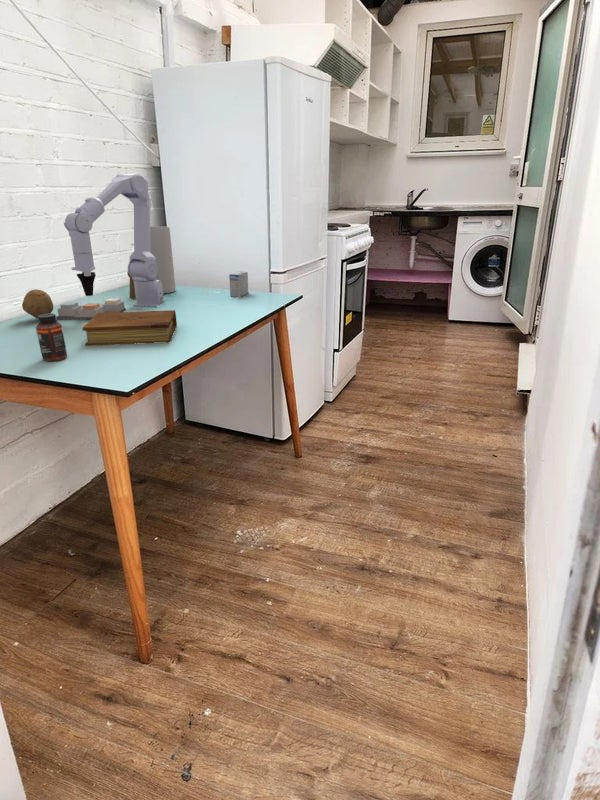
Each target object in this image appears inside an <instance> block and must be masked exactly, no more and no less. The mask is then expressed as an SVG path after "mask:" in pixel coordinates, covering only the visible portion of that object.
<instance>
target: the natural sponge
mask: <svg viewBox="0 0 600 800" xmlns="http://www.w3.org/2000/svg"><path fill="white" fill-rule="evenodd" d="M21 307H22V309H23V311H24V312H25V313H27V314H29V315H31V317H34V318H35V319H37V320H38V316H39V315H42V314H48V313H52V312H53V310H54V303H53V300H52V298H51V296H50V295H49V294H48V293H47V292H46V291H44V290H41V289H37V288H35V289H30V290H29V291H28V292H27V293H26V294H25V296H24V297H23V301H22V303H21Z"/></svg>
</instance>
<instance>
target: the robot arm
mask: <svg viewBox="0 0 600 800" xmlns="http://www.w3.org/2000/svg"><path fill="white" fill-rule="evenodd" d="M119 195H122V196H123V197H125V198H126V199H128V200H129V201H130V202H131V203H132V204H133V252H132V253H131V254H130V255H129V262H128V264H127V272H128V273H129V275H130V276H131V277H132V279H133V280H134V287H135V295H136V299H135V301H136V302H134V303H133V304H132V306H133V307H159V306H160V305H162V304H164V303H165V299H164V297H165V296H164V294H163V288H162V283H161V281H160V280H155V279H156V276H157V274H158V267H157V264H156V258H155V257H154V256H153V255H152V254H151V253H150V227H151V198H150V194H149V182H148V180H147V179H146V178H145V177H144V175H142V174H141V173H125V174H124V173H118V174H117V175H115V177H113V178H111V181H110V182H109V184H108V185H106V187H105V188H104V189H103V190H102V191H101V192H100V193H99V194H98V195H97V196H96V197H93V196H92V197H87V198H85V199H84V201H85V202H84V203H83V204H82V205H80V206H79V207H76V208H75V211H74V212H70V213H68V214H67V215H66V217H65V218H64V222H63V226H64V227H65V229H66V230H67V232H68V235H69V237H70V244H71V248H72V255H73V262H74V267H73V266H72V267H71V271H76V272H81V273H76V276H77V277H78V280H79V282H80V284H81V286H82V289H83V292H84V295H85V297H93V296H94V285H95V284H94V283H95V278H96V276H97V275H96V272H94V271H95V270H96V266H95V263H94V255H93V249H92V242H91V234H90V231H91V230H92V229H93V223H95V222H96V220H98V218H100V217H101V216H102V215H103V214H104V213H105V211H106V210H105V207H106V206H107V205H108V204H110V203H111V202H112V201H113V200H114V199H116V198H117V197H119ZM141 260H144V261H141Z"/></svg>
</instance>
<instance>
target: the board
mask: <svg viewBox="0 0 600 800" xmlns="http://www.w3.org/2000/svg"><path fill="white" fill-rule="evenodd" d="M82 306H83V305H80V304H78V307H75V308H73V309H61V306H60V307H58V308H57V316H56V320H87V321H90V320H91V319H92V318H93V317H94V316H95V315H96V314H97V313H108V312H127V308H126V306H125V301H123V300H121V302H120V303H118V304H105V302H103V303H101V305H100V307H99V308H97V309H95V310H93V309H83V307H82Z"/></svg>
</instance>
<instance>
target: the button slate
mask: <svg viewBox="0 0 600 800" xmlns="http://www.w3.org/2000/svg"><path fill="white" fill-rule="evenodd" d="M78 305H79V304H78V302H70V301H69V302H67V301H66V302H65V303H62V304H60V305H59V306H60V307H61V309H73V308H75V307H78Z"/></svg>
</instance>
